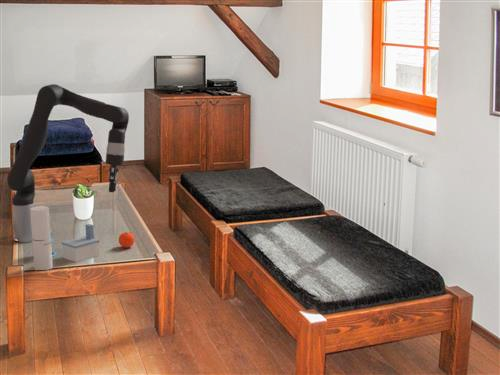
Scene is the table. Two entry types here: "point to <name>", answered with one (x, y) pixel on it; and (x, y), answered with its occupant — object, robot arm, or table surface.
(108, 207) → the table surface
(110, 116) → the robot arm
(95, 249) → the tub
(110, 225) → the table surface
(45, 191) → the table surface
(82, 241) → the lid
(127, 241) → the clementine
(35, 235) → the cylindrical container
